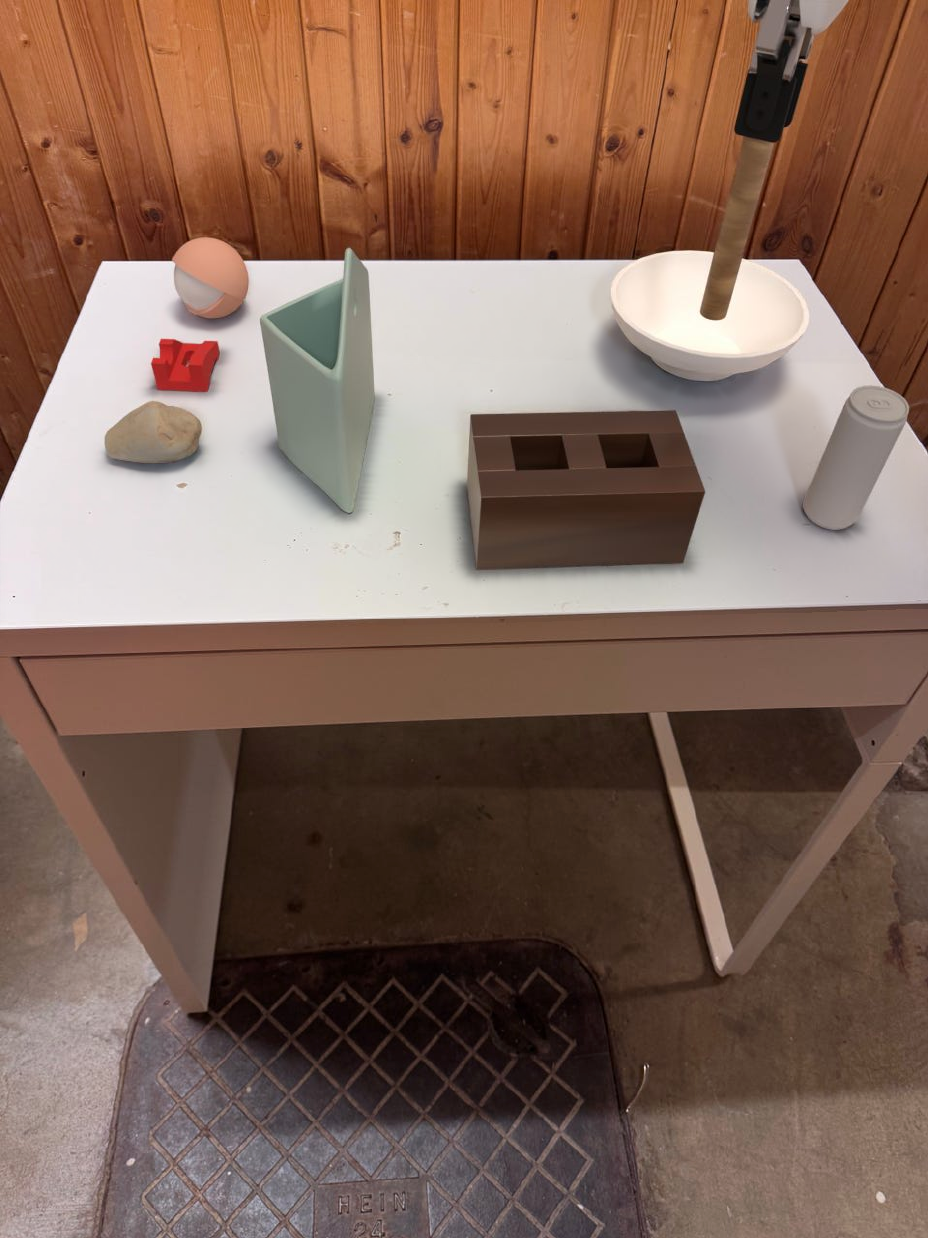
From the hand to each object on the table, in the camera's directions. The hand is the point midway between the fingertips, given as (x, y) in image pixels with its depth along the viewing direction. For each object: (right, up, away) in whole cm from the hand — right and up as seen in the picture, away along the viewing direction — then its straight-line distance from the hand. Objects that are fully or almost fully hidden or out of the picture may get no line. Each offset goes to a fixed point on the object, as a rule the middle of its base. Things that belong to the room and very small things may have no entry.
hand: (762, 127), depth 65 cm
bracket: (-48, -10, +28) cm, 57 cm away
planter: (-34, -19, +20) cm, 44 cm away
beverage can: (+11, -25, +17) cm, 33 cm away
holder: (-12, -26, +15) cm, 32 cm away
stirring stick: (-1, -9, +11) cm, 15 cm away
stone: (-49, -19, +20) cm, 56 cm away
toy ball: (-48, -2, +35) cm, 59 cm away
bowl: (+3, -7, +32) cm, 33 cm away
